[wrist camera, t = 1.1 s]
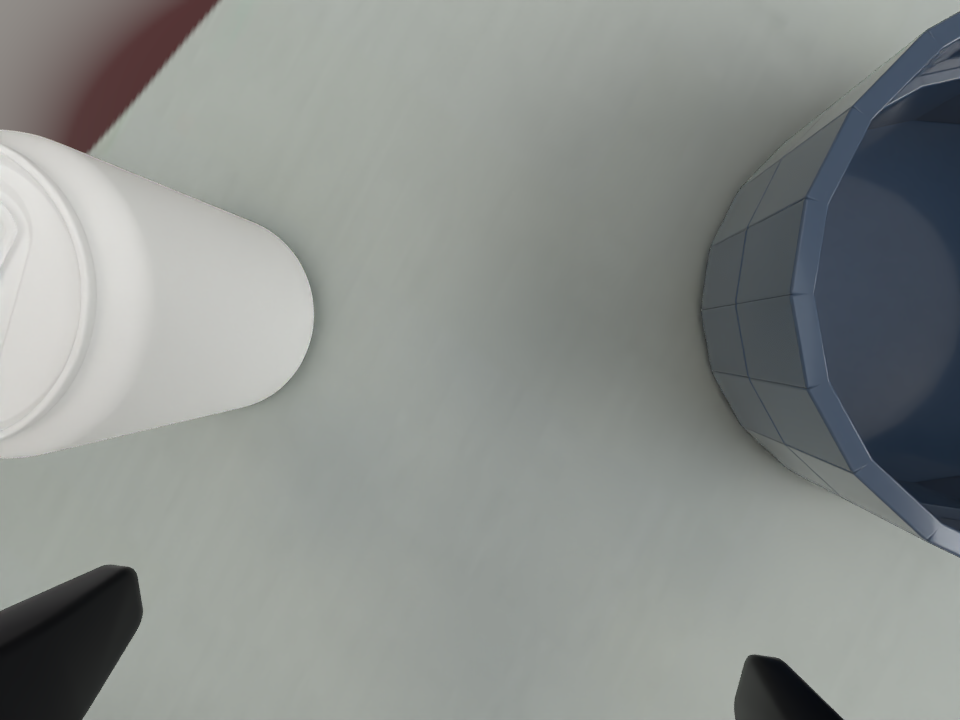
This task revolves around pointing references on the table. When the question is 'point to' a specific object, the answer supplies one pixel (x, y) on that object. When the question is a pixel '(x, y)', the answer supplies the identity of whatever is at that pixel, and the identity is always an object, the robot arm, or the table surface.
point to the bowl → (855, 295)
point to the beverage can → (131, 303)
